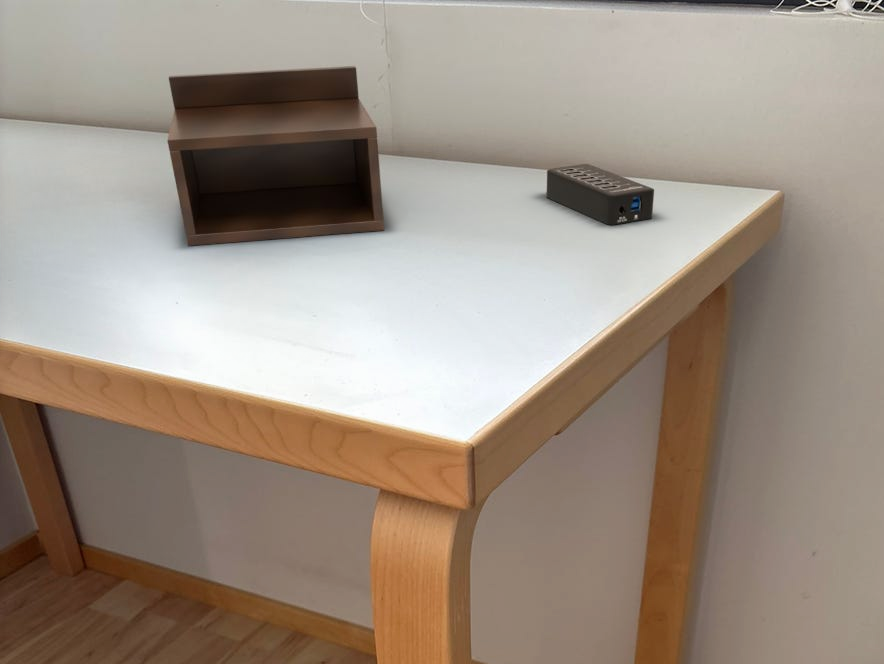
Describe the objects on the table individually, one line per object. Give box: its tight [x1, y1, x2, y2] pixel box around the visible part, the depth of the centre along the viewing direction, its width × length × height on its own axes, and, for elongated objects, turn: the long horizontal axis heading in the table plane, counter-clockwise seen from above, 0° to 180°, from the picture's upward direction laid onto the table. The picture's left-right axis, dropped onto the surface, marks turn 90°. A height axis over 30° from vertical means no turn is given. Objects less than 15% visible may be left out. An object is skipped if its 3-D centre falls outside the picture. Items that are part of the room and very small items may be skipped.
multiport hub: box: [546, 163, 655, 226], centre depth 86 cm, size 4×11×2 cm, turn 27°
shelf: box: [166, 65, 385, 247], centre depth 83 cm, size 16×14×10 cm
